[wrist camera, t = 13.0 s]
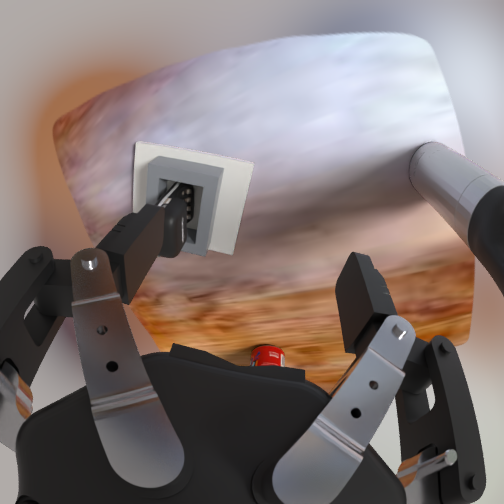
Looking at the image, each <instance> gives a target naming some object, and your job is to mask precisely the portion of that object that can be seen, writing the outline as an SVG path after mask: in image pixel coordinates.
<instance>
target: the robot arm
mask: <svg viewBox="0 0 504 504" xmlns="http://www.w3.org/2000/svg"><path fill="white" fill-rule="evenodd" d="M409 175H410V180H411V183H412V185H413V187H414V188H415V189H416V190H417V191H418V192H419V193H420V194H421V195H422V196H423V197H424V198H425V199H426V201H427V202H428V203H429V204H430V205H431V206H432V207H433V208H434V209H435V210H436V211H437V212H438V213H439V214H440V215H441V216H442V217H443V218H444V220H445V221H446V222H447V223H448V224H449V225H450V226H451V227H452V228H453V230H454V231H455V232H456V233H457V234H458V235H459V237H460V238H461V239H462V240H463V241H464V242H465V244H466V245H467V246H468V247H469V248H470V250H471V251H472V252H473V254H474V255H475V256H476V257H477V259H478V260H479V261H480V262H481V263H482V265H483V266H484V267H485V268H486V270H487V271H488V272H489V274H490V275H491V277H492V278H493V279H494V281H495V282H496V284H497V286H498V287H499V289H500V291H501V292H502V294H503V296H504V182H503V181H502V180H501V179H499V178H497V177H496V176H495V175H493V174H491V173H490V172H489V171H487V170H485V169H484V168H482V167H481V166H479V165H478V164H476V163H475V162H473V161H471V160H470V159H468V158H466V157H465V156H463V155H461V154H459V153H458V152H456V151H454V150H453V149H451V148H449V147H447V146H445V145H443V144H442V143H438V142H430V143H426V144H424V145H423V146H421V147H420V148H419V149H418V150H417V151H416V152H415V154H414V155H413V157H412V159H411V163H410V168H409ZM164 216H165V209H164V207H162V206H157V205H152V204H145V206H144V207H143V208H142V209H141V210H140V211H139V212H138V213H134V212H133V213H131V214H129V215H127V216H125V217H123V218H122V219H121V220H120V221H119V222H118V223H117V225H115V227H114V228H113V229H112V231H110V232H109V233H108V234H107V235H106V236H105V237H104V239H103V240H102V241H101V242H100V243H99V244H98V245H97V246H96V248H87V249H83V250H81V251H79V252H77V253H76V254H75V255H74V256H73V257H72V259H71V260H62V259H60V260H59V259H54V258H53V255H52V251H51V250H50V249H49V248H48V247H44V246H38V247H34V248H31V249H29V250H28V251H26V252H25V253H24V254H23V255H22V256H21V257H20V258H19V259H18V260H17V262H16V263H15V264H14V265H13V266H12V267H11V269H10V270H9V271H8V272H7V273H6V274H5V275H4V277H3V278H2V279H1V281H0V442H1V443H2V444H4V445H5V446H7V447H8V448H10V449H11V450H13V451H14V452H16V458H17V465H18V474H19V475H18V476H19V492H18V497H17V501H16V503H15V504H470V503H473V502H475V501H477V500H478V499H479V498H480V497H481V496H482V494H483V492H484V490H485V486H486V474H485V465H484V458H483V451H482V445H481V440H480V434H479V429H478V424H477V420H476V416H475V411H474V407H473V403H472V400H471V396H470V392H469V388H468V385H467V381H466V378H465V375H464V372H463V369H462V366H461V362H460V360H459V357H458V354H457V351H456V348H455V347H454V345H453V344H452V343H451V341H450V340H448V339H447V338H445V337H443V336H440V335H438V336H435V337H434V338H433V339H432V340H431V341H430V342H429V343H428V342H426V341H423V340H421V339H419V338H417V337H416V335H415V331H414V329H413V327H412V326H411V324H410V323H409V322H408V321H407V320H405V319H404V318H402V317H400V316H398V314H397V312H396V309H395V306H394V303H393V301H392V298H391V295H389V294H390V293H389V290H388V288H387V285H386V283H385V280H384V278H383V276H382V275H381V274H380V273H379V272H378V270H377V269H374V266H373V264H372V261H371V259H370V257H369V256H368V255H364V254H360V253H356V252H352V253H351V254H350V255H349V257H348V259H347V261H346V263H345V266H344V268H343V270H342V272H341V274H340V276H339V278H338V280H337V283H336V288H335V294H336V299H337V305H338V311H339V316H340V322H341V328H342V335H343V341H344V348H345V353H353V354H356V358H355V360H354V361H353V362H352V363H351V365H350V366H349V367H348V369H347V370H346V371H345V373H344V374H343V375H342V377H341V378H340V379H339V381H338V382H337V383H336V384H335V386H334V387H333V388H332V389H331V391H330V392H329V393H327V392H326V391H324V390H323V389H322V388H320V387H319V386H317V385H316V384H314V383H312V382H310V381H307V380H305V370H302V369H295V368H289V367H282V366H276V365H266V366H237V365H234V364H232V363H230V362H228V361H225V360H223V359H221V358H219V357H217V356H215V355H212V354H210V353H208V352H206V351H203V350H198V349H194V348H190V347H187V346H183V345H179V344H175V343H173V345H172V348H171V350H170V352H156V353H150V354H147V355H142V356H140V354H139V352H138V349H137V346H136V343H135V341H134V338H133V335H132V332H131V329H130V326H129V323H128V320H127V317H126V314H125V310H124V307H123V304H122V303H124V304H127V305H129V304H130V303H131V301H132V299H133V297H134V295H135V294H136V292H137V290H138V288H139V287H140V285H141V283H142V281H143V280H144V278H145V276H146V275H147V273H148V271H149V269H150V268H151V266H152V264H153V263H154V261H155V259H156V258H157V256H158V254H159V253H160V251H161V248H162V244H163V236H164ZM33 300H34V303H35V304H34V305H33V307H32V308H31V310H30V311H29V313H28V314H27V316H26V317H25V319H24V315H25V312H26V310H27V309H28V307H29V306H30V304H31V303H32V301H33ZM66 317H73V320H74V326H75V333H76V339H77V345H78V350H79V355H80V360H81V365H82V369H83V374H84V378H85V382H86V386H84V387H82V388H80V389H79V390H77V391H75V392H73V393H71V394H69V395H67V396H65V397H63V398H61V399H60V400H58V401H56V402H54V403H52V404H50V405H48V406H46V407H44V408H42V409H40V410H38V411H36V412H35V413H33V414H32V415H31V413H32V411H33V408H32V402H33V396H32V392H31V389H30V386H31V383H32V381H33V379H34V377H35V375H36V373H37V371H38V368H39V366H40V364H41V362H42V360H43V358H44V356H45V354H46V352H47V350H48V348H49V347H50V345H51V343H52V341H53V339H54V337H55V335H56V334H57V332H58V330H59V328H60V326H61V325H62V323H63V321H64V319H65V318H66ZM431 384H432V385H433V389H434V394H435V404H434V406H433V408H432V409H431V410H430V409H429V404H428V398H427V394H426V388H428V387H429V386H430V385H431ZM394 397H395V400H396V407H397V415H398V423H399V434H400V446H401V461H402V463H401V465H400V467H399V469H398V472H397V474H396V475H395V474H394V473H393V472H392V470H391V469H390V468H389V467H388V466H387V465H386V463H385V462H384V461H383V460H382V458H381V457H380V456H379V455H378V454H377V452H376V451H375V450H374V449H373V447H372V446H371V445H370V444H369V442H370V440H371V439H372V437H373V435H374V434H375V432H376V430H377V428H378V427H379V425H380V423H381V422H382V420H383V418H384V416H385V414H386V413H387V411H388V409H389V406H390V405H391V403H392V401H393V399H394Z"/></svg>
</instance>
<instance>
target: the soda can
mask: <svg viewBox="0 0 504 504" xmlns="http://www.w3.org/2000/svg"><path fill="white" fill-rule="evenodd" d="M266 365H276V366H282V367H285V354H284V352H283V351H282V350H281V349H280V348H278V347H275V346H270V345H265V346H260V347H257V348H255V349H254V350H253V351H252V353H251V361H250V366H266Z"/></svg>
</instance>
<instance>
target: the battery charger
mask: <svg viewBox="0 0 504 504" xmlns="http://www.w3.org/2000/svg"><path fill="white" fill-rule="evenodd" d="M155 205H157V206H162V207H164V209H165V216H164V236H163V244H162V248H161V251H160V253H159V254H158V256H157V257H166V258H174V257H176V256H177V255H178V254H179V253H180V251H181V249H182V248H183V246H184V244H185V242H186V240H187V223H188V222H190V221H191V220H192V219H193V216H194V187H193V186H192V185H191V184H187V183H182V182H177V181H176V182H175V183H174V184H173V185H172V186H171V188H170V189H169V190H168V191H167V192H166V193H165V194H164V195H163V196H162V197H161V198H160V199H159V200H158V201H157V203H156V204H155Z"/></svg>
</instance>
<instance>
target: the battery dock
mask: <svg viewBox="0 0 504 504" xmlns="http://www.w3.org/2000/svg"><path fill="white" fill-rule="evenodd" d="M253 167H254V162H250V161H245V160H241V159H237V158H232V157H227V156H223V155H218V154H213V153H208V152H203V151H197V150H192V149H186V148H181V147H175V146H169V145H162V144H156V143H149V142H142V141H138V142H136V148H135V163H134V184H133V212H134V213H138V212H139V211H140V210H141V209H142V208H143V207H144V206H145V204H152V205H155V204H156V203H157V201H158V200H159V199H160V198H161V197H162V196H163V195H164V194H165V193H166V192H167V191H168V190H169V189H170V188H171V186H172V185H173V184H174V183H175V182H176V181H177V182H182V183H187V184H191V185H192V186H193V187H194V216H193V219H192V220H191V221H190V222H188V223H187V240H186V242H185V244H184V246H183V248H182V249H181V251H184V252H188V253H192V254H196V255H200V256H206V254H207V251H208V250H212V251H216V252H221V253H225V254H229V255H233V252H234V247H235V243H236V239H237V234H238V230H239V226H240V222H241V217H242V213H243V209H244V205H245V200H246V196H247V192H248V188H249V184H250V180H251V176H252V171H253Z"/></svg>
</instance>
